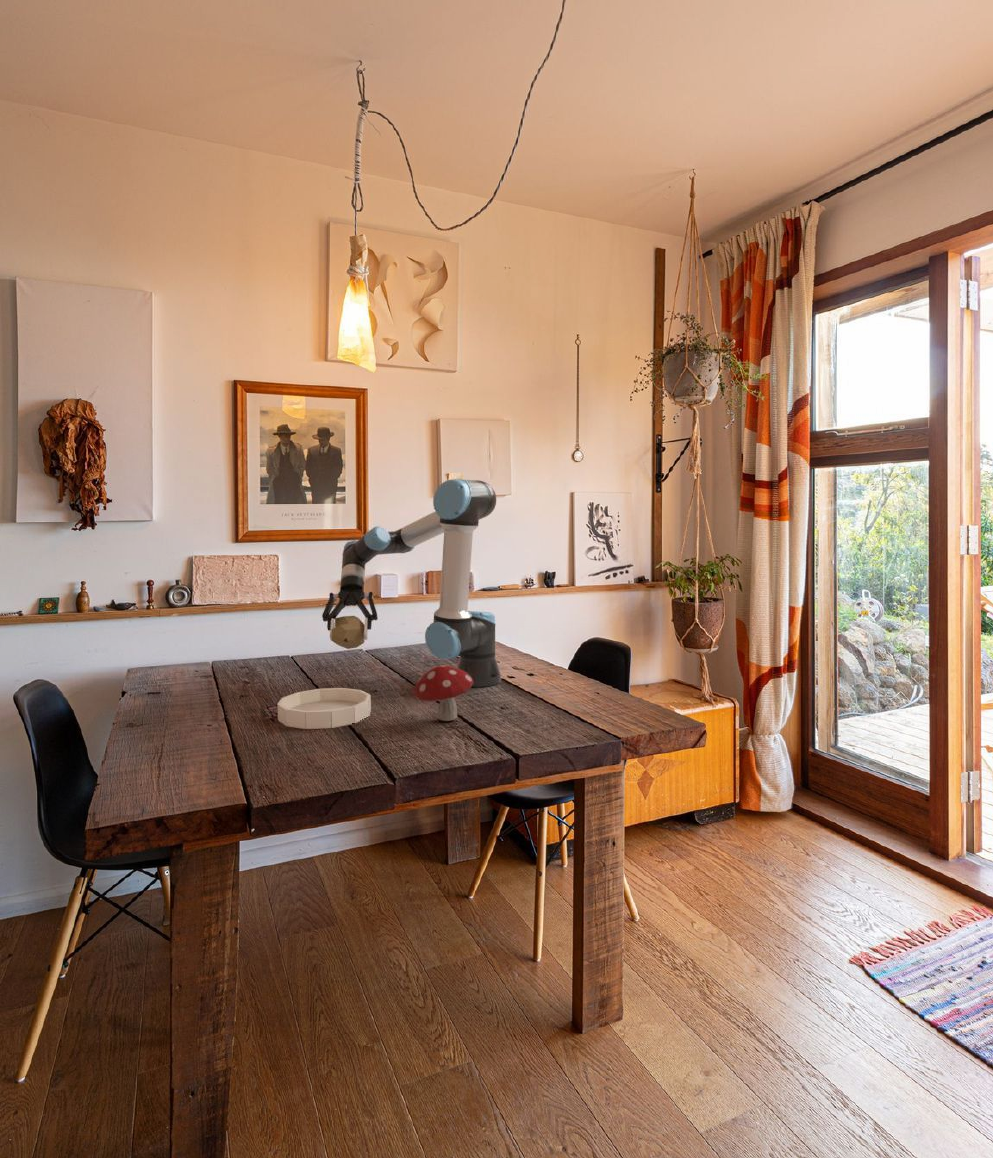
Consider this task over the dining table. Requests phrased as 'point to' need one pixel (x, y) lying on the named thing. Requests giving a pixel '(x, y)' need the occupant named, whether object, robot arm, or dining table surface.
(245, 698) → the dining table surface
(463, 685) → the decorative mushroom
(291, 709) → the cream bowl
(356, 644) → the low-poly potato
